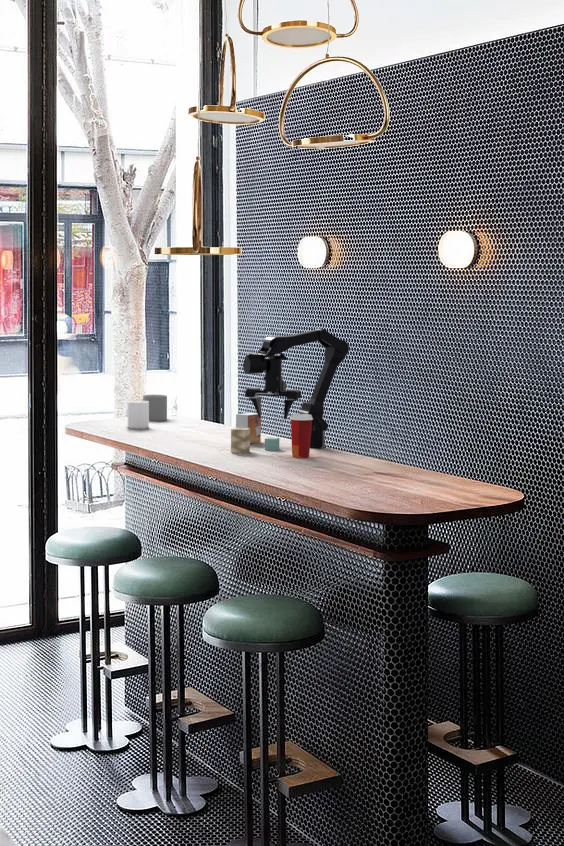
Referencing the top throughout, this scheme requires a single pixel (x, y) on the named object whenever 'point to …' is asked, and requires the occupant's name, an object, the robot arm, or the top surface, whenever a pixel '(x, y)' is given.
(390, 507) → the top surface
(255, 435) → the small box
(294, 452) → the paper cup
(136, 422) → the mug
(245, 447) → the birch lower block
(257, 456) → the top surface
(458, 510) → the top surface
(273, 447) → the teal cube
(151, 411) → the coffee mug
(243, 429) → the birch upper block
